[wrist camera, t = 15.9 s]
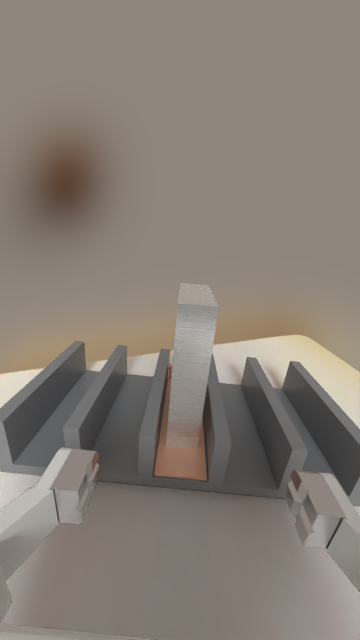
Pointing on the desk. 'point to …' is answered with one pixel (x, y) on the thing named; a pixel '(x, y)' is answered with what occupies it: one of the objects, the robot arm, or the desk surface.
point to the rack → (152, 420)
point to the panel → (191, 363)
